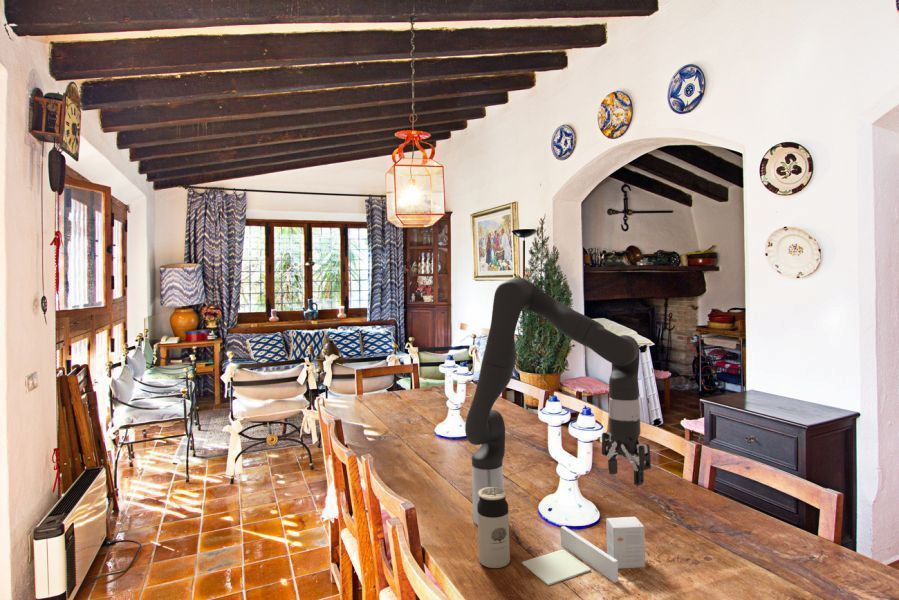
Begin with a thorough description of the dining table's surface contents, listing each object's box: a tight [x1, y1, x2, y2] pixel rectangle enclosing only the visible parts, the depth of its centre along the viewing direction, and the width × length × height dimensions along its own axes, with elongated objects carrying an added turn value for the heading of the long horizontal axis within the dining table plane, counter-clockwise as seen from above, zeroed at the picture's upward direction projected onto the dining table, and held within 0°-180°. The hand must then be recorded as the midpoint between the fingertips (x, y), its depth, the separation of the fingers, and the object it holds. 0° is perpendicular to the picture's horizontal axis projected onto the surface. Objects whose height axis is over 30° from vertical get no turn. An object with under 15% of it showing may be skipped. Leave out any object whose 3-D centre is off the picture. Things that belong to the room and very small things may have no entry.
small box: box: [605, 516, 646, 570], centre depth 131 cm, size 8×6×10 cm
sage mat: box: [521, 548, 592, 586], centre depth 130 cm, size 11×13×1 cm
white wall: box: [560, 525, 619, 583], centre depth 132 cm, size 20×1×5 cm, turn 26°
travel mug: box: [477, 487, 511, 569], centre depth 133 cm, size 8×8×18 cm
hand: (625, 479), depth 130 cm, fingers open, 8 cm apart
